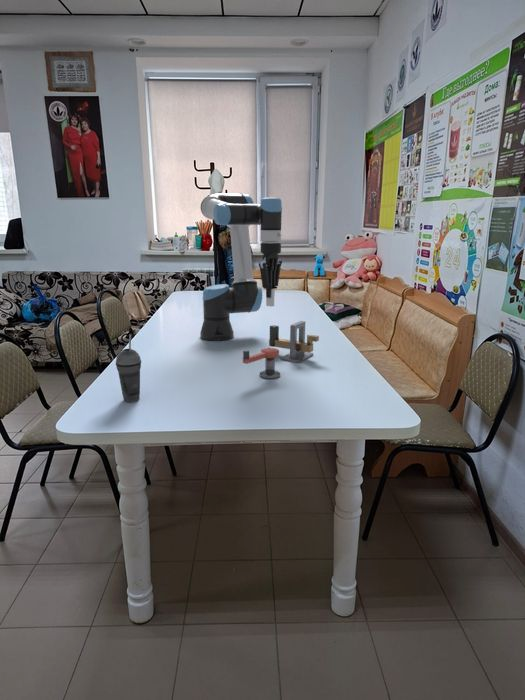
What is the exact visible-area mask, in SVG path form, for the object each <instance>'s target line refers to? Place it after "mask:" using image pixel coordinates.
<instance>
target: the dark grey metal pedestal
mask: <svg viewBox="0 0 525 700" xmlns="http://www.w3.org/2000/svg"><path fill="white" fill-rule="evenodd" d="M264 359H265V361H264V365H265V367H264V368H265V370H262V371H260V372H259V377H260V378H262V379H264V380H275V379H279V378H280V377H281V372H279V370H278V371H277V370H276V368H275V366H276V360H275V359H276V358H264Z"/></svg>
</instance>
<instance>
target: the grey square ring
mask: <svg viewBox="0 0 525 700" xmlns="http://www.w3.org/2000/svg"><path fill="white" fill-rule="evenodd" d="M289 330H290V332H289V333H290V334H289V340H290V349H289V353H287V354H285V355H282V356H281V357H280V360H281V361H286V362H292V363H298V364H300V363H302V362H303V361H305V360H307V359H309V358H311V357H312V356H314V352H310V353H309V352H303V351H297V350H296V349H297V341H299V342H305V343H306V321H304V320H299V321H297V322H294V323H292V324H290V327H289ZM297 337H298V339H297Z"/></svg>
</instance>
